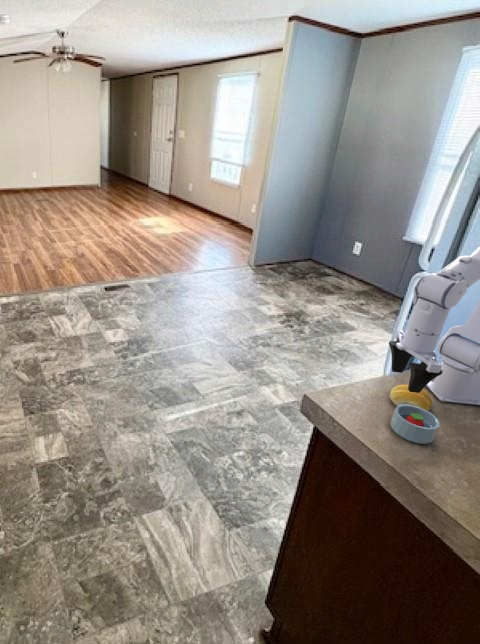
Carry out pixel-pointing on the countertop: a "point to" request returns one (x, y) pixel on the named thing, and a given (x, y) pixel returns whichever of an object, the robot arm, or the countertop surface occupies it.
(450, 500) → the countertop surface
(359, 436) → the countertop surface
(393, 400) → the bread roll
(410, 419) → the strawberry
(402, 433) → the bowl
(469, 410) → the countertop surface
